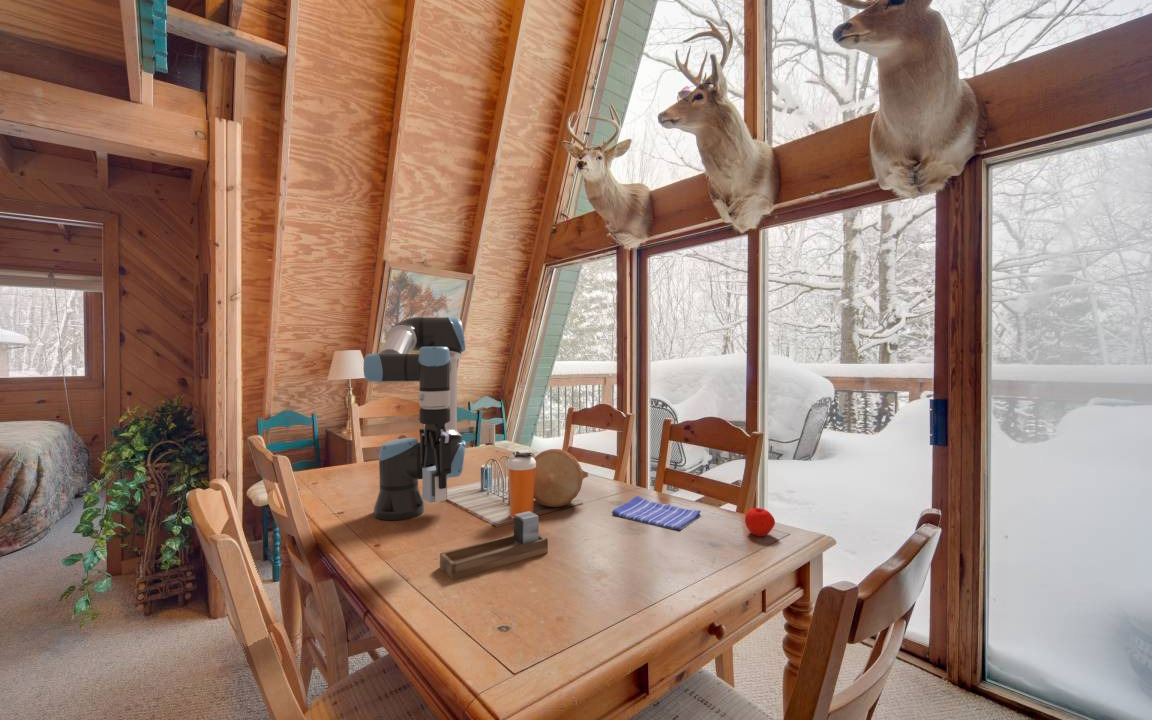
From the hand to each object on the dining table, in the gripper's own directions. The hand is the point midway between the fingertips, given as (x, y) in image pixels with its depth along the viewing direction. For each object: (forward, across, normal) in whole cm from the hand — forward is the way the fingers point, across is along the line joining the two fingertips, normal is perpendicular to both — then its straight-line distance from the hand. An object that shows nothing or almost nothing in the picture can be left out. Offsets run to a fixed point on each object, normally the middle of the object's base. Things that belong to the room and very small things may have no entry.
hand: (435, 498), depth 129 cm
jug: (+15, -17, +54) cm, 58 cm away
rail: (+15, +12, +10) cm, 22 cm away
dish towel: (+16, +17, +67) cm, 70 cm away
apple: (+15, +46, +76) cm, 91 cm away
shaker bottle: (+15, -10, +34) cm, 38 cm away
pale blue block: (0, 0, 0) cm, 0 cm away
